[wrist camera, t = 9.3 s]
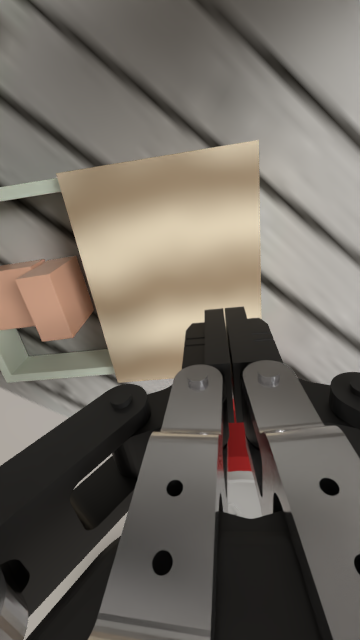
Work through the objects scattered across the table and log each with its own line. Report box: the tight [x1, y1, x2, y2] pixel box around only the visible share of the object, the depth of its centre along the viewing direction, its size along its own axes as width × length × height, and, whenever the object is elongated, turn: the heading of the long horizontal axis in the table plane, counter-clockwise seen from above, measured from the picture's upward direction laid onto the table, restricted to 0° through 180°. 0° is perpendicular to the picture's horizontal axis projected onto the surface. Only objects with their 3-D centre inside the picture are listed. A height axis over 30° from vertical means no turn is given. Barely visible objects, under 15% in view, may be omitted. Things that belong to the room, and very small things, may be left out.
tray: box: [0, 178, 115, 383], centre depth 24 cm, size 16×11×3 cm
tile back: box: [0, 259, 45, 330], centre depth 25 cm, size 5×5×2 cm
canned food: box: [228, 391, 262, 519], centre depth 25 cm, size 8×8×11 cm
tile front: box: [15, 256, 94, 342], centre depth 23 cm, size 5×5×2 cm
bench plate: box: [56, 140, 261, 383], centre depth 22 cm, size 16×12×4 cm
